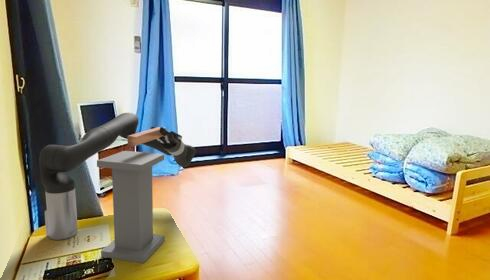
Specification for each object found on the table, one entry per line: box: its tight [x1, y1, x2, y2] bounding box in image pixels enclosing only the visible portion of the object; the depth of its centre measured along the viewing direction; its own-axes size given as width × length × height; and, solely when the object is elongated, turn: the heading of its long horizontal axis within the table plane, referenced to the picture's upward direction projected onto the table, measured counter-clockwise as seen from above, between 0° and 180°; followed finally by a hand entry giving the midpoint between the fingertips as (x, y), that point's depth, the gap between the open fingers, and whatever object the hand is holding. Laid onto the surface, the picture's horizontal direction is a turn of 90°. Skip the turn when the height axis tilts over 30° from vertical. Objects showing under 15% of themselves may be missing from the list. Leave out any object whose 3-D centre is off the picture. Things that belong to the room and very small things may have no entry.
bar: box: [127, 126, 167, 147], centre depth 112 cm, size 3×22×3 cm, turn 169°
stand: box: [96, 150, 166, 264], centre depth 105 cm, size 15×15×32 cm
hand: (156, 129), depth 118 cm, fingers closed on bar, 3 cm apart
